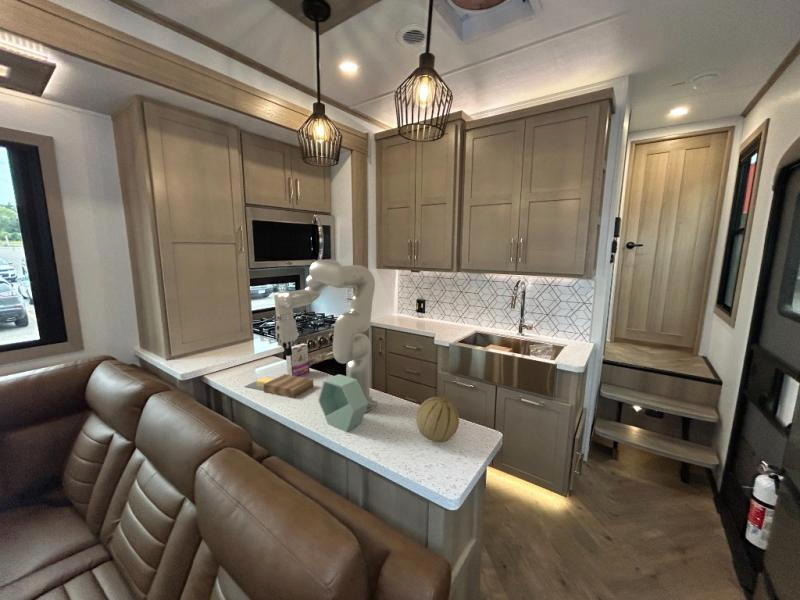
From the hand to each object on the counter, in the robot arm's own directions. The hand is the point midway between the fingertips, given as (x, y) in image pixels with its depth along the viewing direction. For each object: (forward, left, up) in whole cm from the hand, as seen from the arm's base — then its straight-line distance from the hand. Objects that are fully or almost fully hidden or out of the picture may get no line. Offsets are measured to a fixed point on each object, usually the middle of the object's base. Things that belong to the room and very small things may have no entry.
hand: (288, 355), depth 155 cm
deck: (+1, 0, -17) cm, 17 cm away
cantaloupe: (-78, +13, -17) cm, 81 cm away
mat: (+17, -1, -17) cm, 24 cm away
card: (+14, 0, -17) cm, 22 cm away
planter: (-42, +17, -18) cm, 48 cm away
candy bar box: (+10, -17, -18) cm, 26 cm away
